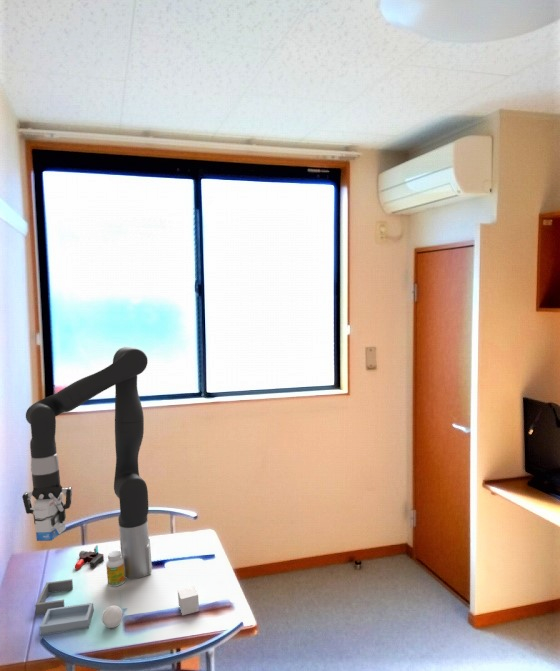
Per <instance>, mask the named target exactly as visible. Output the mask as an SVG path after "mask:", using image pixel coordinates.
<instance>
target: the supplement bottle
mask: <svg viewBox="0 0 560 671" xmlns="http://www.w3.org/2000/svg"><path fill="white" fill-rule="evenodd" d="M105 564H106V565H105V566H106V576H107V577H106V578H107V579H106V580H107V585H108V586H109V587H119V586H121V585H123V584H124V583H125V582H126V578H125V572H124V560H123V558H121V550H120V551H119V550H113V551H110V552H108V554H107V561H106V563H105Z"/></svg>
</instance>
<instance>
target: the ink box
mask: <svg viewBox="0 0 560 671" xmlns="http://www.w3.org/2000/svg"><path fill="white" fill-rule="evenodd" d="M63 495H64V493H63V492H61V494H60V495H59V497H60V498H61V499H62V502H63V503H64V496H63ZM59 497H58V498H57V500H59ZM33 508H34V515H35V524H34V525H35V536H36V542H51V541H53V540H54V539H55V538H57V537H58V536H59V535H60V534H62V533H63V532H64V531H65V530H66V529H67V528H66V520H65V521H64V522H63V523H60V517H59V511H60V510H59V509H58V507H57V506H56V505H55V504H54V500H53V499H43V500H36V499H35V500H34V502H33ZM34 515H33V516H34Z"/></svg>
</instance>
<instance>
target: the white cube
mask: <svg viewBox="0 0 560 671" xmlns="http://www.w3.org/2000/svg"><path fill="white" fill-rule="evenodd" d="M177 599H178V607H179V606H180V608H179V610H180V609H181V611H180V613H182V614H181V616H185V615H188V614H193V613H197V612H199V611H200V604H199V593H198V592H197V589H196V587H195V586H191V587H187V588H183V589H179V590H177Z"/></svg>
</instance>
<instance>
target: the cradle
mask: <svg viewBox="0 0 560 671" xmlns="http://www.w3.org/2000/svg"><path fill="white" fill-rule="evenodd" d="M73 589H74V585H73V579H71V578H70V579H63V580H58V581H50V582H49V581H48V582H46V583H45V584H44V587H43V589H42V590H41V593H40V595H39V596H38V598H37V601H36V602H35V605H34V606H35V615H42V614H43V615H44V614H46V612H47V610H48V609H52V608H59V607H66V606H65V599H60V600H51V601H47V599H48V596H49V594H50V593H57V592H65V591H72V590H73Z"/></svg>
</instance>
